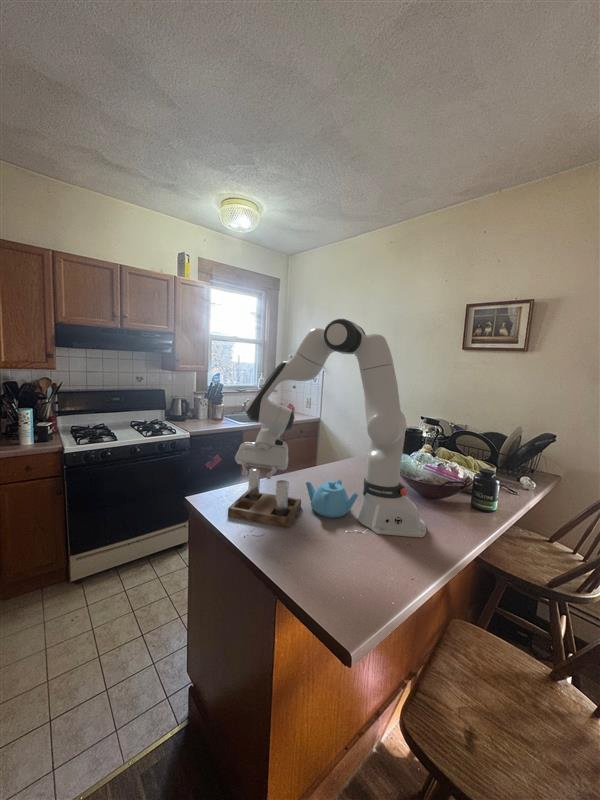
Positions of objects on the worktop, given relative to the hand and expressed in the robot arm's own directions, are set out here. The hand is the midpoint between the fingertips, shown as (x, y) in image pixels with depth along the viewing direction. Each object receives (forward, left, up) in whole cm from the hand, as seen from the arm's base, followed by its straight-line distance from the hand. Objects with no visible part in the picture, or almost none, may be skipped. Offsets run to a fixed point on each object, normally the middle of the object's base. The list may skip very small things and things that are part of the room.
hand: (256, 476), depth 117 cm
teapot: (-27, -5, -10) cm, 30 cm away
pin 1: (0, +1, -10) cm, 10 cm away
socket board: (-6, +5, -10) cm, 13 cm away
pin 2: (-13, +9, -10) cm, 19 cm away
